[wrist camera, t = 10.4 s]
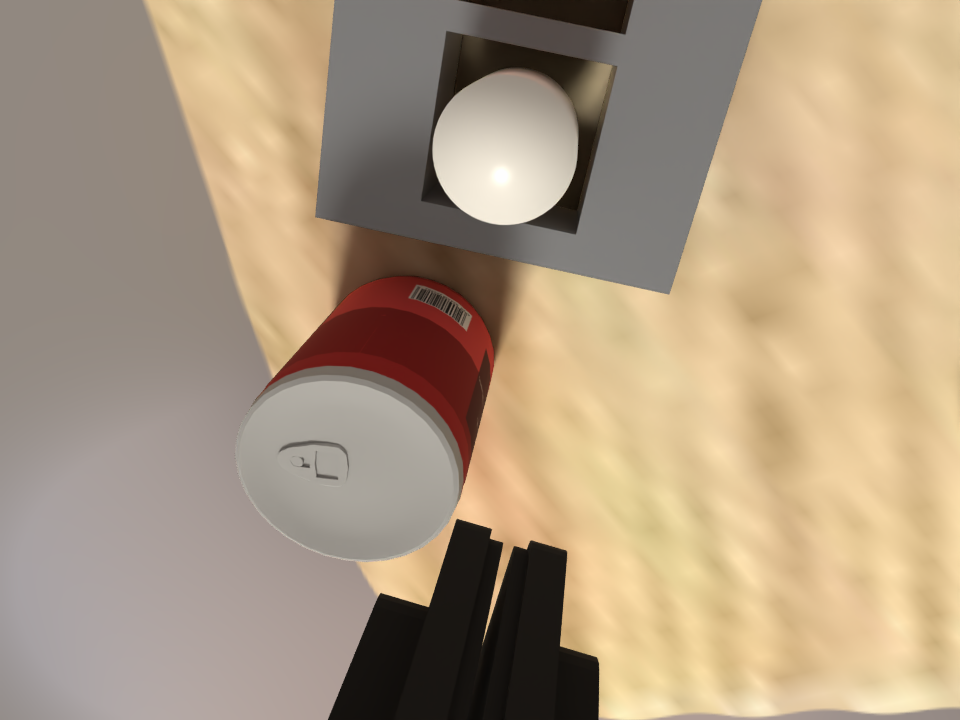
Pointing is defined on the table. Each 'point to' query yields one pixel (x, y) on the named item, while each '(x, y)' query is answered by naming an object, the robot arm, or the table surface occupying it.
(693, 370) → the table surface
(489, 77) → the white dome button
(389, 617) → the robot arm
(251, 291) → the table surface
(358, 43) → the grey slotted tray
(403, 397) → the canned food
